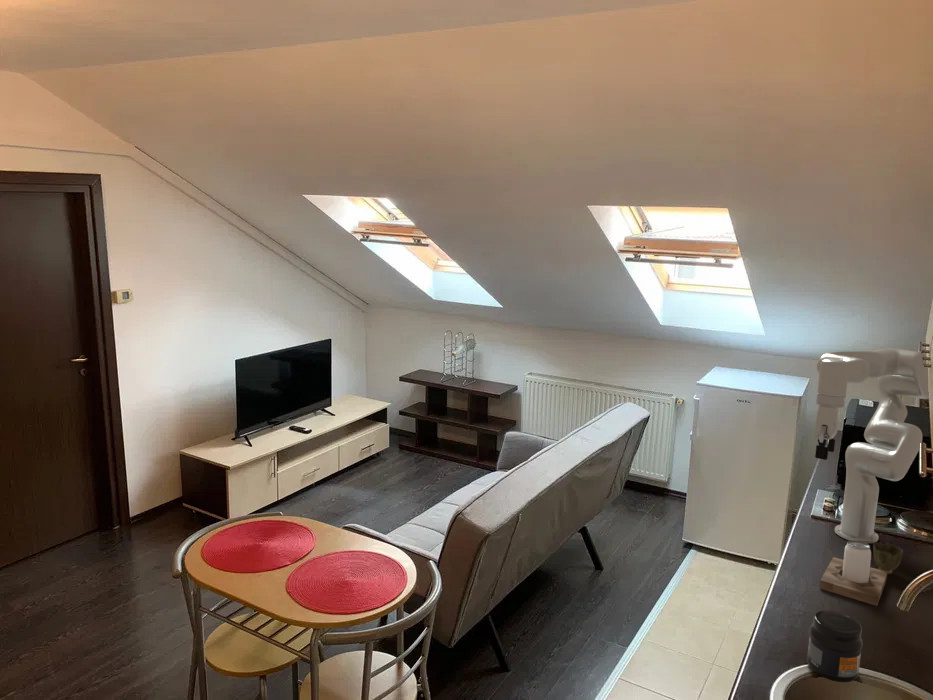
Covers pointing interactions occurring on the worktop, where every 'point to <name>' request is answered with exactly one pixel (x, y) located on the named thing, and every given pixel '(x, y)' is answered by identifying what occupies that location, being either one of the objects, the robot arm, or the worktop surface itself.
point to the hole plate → (853, 583)
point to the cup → (887, 556)
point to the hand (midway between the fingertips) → (824, 454)
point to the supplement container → (835, 646)
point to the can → (857, 562)
